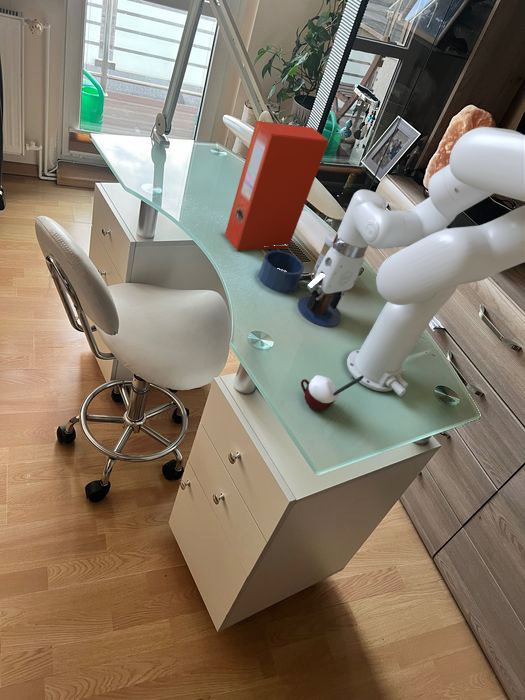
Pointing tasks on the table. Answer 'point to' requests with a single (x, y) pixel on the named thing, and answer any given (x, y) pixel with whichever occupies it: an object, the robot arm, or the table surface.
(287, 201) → the file binder
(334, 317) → the pot lid
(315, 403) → the cocoa
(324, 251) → the sprinkles bottle
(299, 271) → the pot
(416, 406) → the table surface
